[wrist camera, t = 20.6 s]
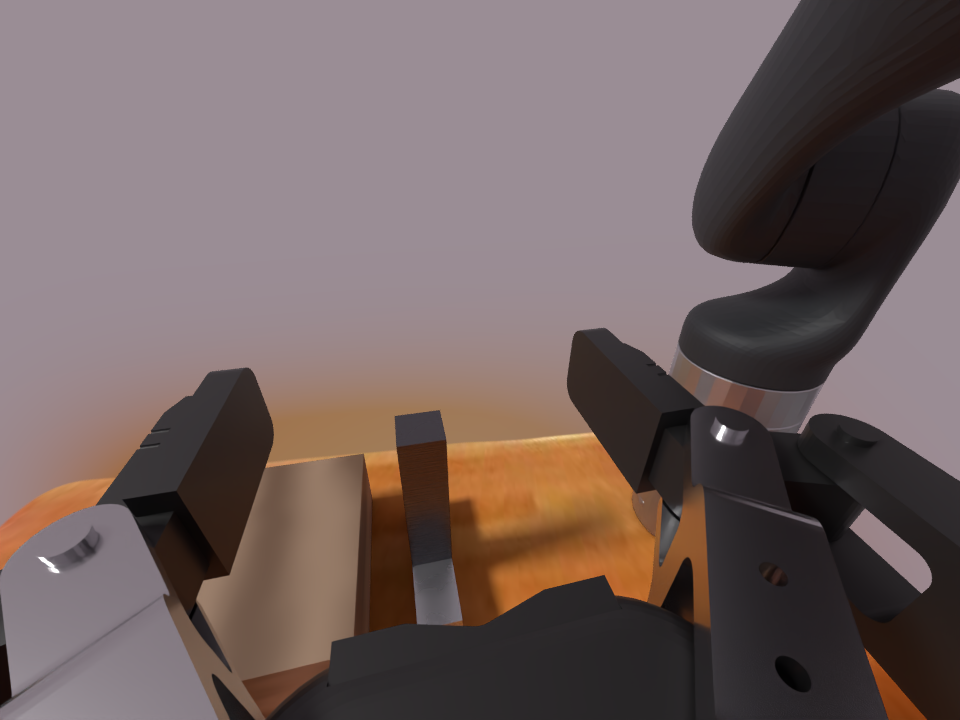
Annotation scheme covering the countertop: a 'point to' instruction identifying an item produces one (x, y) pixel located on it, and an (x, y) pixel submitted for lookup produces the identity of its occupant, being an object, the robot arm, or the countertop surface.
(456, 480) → the countertop surface
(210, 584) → the marbled brown box
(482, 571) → the countertop surface
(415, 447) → the dark grey tall part
